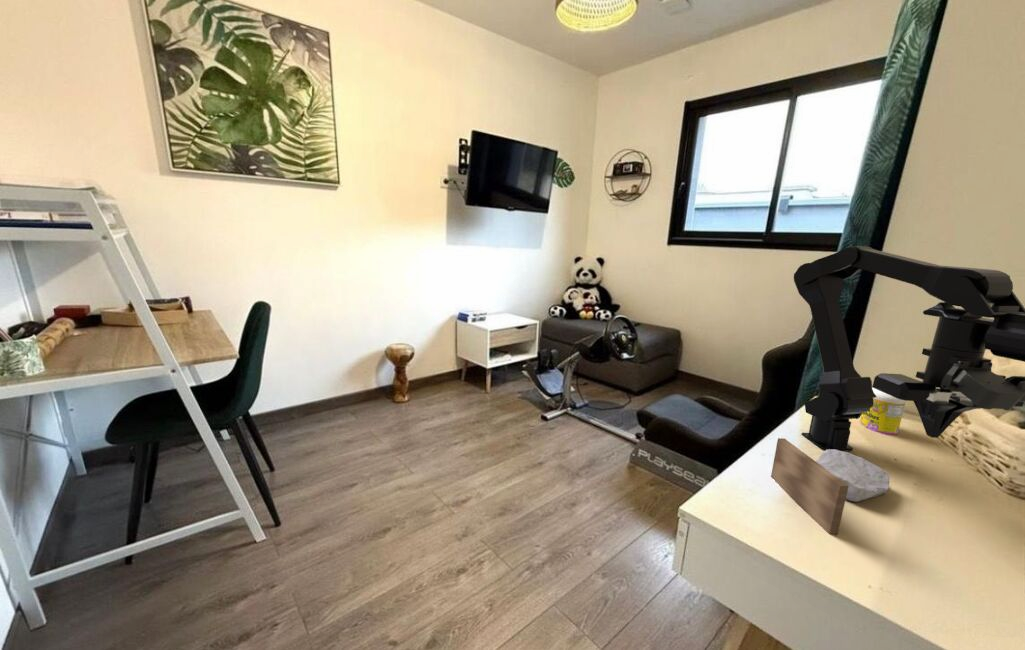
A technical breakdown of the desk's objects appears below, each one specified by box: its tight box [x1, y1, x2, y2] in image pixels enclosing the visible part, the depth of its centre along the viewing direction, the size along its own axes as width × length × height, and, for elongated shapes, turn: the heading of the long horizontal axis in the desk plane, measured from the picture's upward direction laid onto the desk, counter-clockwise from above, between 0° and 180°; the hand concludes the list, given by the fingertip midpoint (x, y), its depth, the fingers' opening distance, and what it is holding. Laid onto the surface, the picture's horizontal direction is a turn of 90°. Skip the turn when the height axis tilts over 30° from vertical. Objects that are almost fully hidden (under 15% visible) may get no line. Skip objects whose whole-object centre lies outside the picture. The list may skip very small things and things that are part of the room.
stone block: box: [815, 449, 891, 503], centre depth 70 cm, size 12×5×10 cm
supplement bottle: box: [859, 388, 907, 436], centre depth 90 cm, size 7×7×13 cm
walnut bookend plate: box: [770, 437, 849, 535], centre depth 64 cm, size 14×1×8 cm, turn 179°
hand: (931, 436), depth 66 cm, fingers closed
